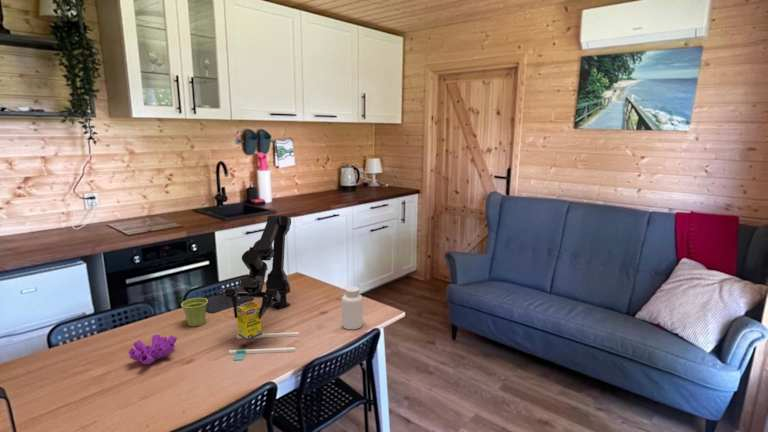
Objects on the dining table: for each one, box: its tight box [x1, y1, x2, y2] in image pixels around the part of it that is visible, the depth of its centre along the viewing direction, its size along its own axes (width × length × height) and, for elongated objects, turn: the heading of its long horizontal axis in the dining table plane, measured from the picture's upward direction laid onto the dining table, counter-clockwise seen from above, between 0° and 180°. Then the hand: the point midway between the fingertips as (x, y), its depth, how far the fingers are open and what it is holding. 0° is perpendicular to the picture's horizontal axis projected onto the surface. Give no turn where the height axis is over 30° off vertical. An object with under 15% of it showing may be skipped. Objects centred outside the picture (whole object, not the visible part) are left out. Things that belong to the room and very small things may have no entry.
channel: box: [228, 331, 300, 362], centre depth 149 cm, size 22×20×1 cm
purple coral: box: [128, 334, 178, 365], centre depth 139 cm, size 11×15×10 cm
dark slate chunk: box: [206, 285, 255, 314], centre depth 185 cm, size 15×22×5 cm
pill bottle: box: [341, 286, 364, 330], centre depth 162 cm, size 8×8×15 cm
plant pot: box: [180, 297, 208, 327], centre depth 164 cm, size 9×9×9 cm
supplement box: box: [236, 301, 263, 341], centre depth 147 cm, size 6×6×11 cm
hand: (247, 318), depth 145 cm, fingers closed on supplement box, 8 cm apart
